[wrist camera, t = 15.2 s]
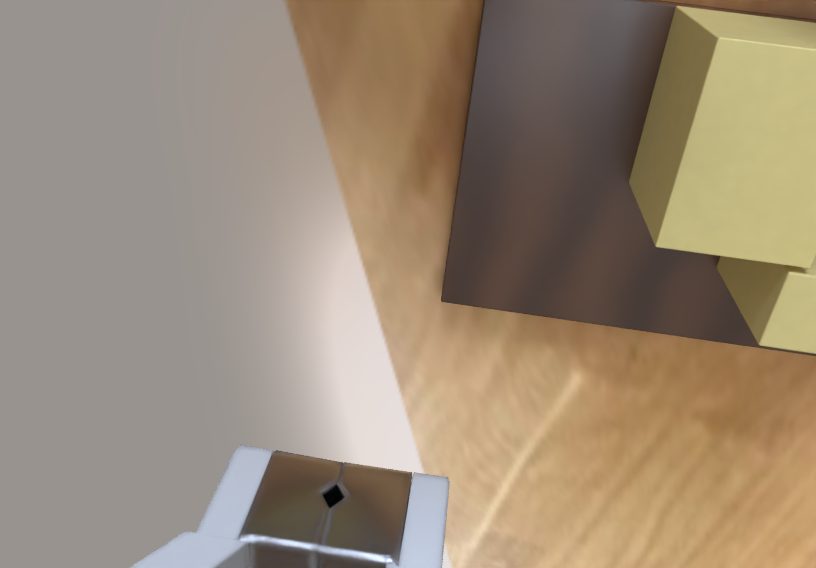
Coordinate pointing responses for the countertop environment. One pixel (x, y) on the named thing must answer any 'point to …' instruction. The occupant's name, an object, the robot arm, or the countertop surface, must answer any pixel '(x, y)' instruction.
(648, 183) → the butter block
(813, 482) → the countertop surface
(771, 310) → the butter slice
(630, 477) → the countertop surface
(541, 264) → the butter board
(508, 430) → the countertop surface
